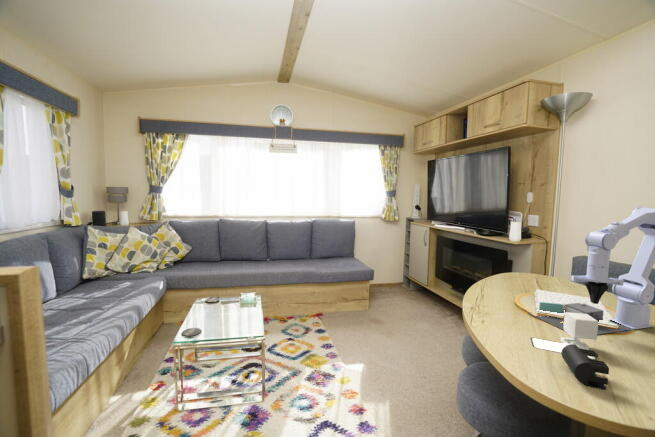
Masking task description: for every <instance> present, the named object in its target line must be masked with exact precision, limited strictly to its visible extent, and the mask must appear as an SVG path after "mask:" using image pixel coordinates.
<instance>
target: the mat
mask: <svg viewBox="0 0 655 437" xmlns="http://www.w3.org/2000/svg"><path fill="white" fill-rule="evenodd" d="M530 313H531V312H527V314H528V315H530V316H532V317H535V319H537V320H541V321H543V322H545V323H547V324H549V325H551V326H553V327H555V328H557V329H559V330H562V331H564V329H563V326H564V324H563V323H560V322H562V321H563V322H564V319H561V318H557V317H551V316H549V317H547V316H541V317H540V316H534V315H532V314H530ZM619 325H620V324H619ZM625 330H630V331H632V329H631V328H628V327H626V326H623V325H620V326H619V327H618V328H617V329H610V328H607V327H602V326H598V332H597V336H600V335H607V334H613V333H612V332H616V333H620V332H619V331H623V332H626V331H625ZM564 332H565V331H564Z"/></svg>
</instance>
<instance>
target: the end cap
mask: <svg viewBox="0 0 655 437" xmlns="http://www.w3.org/2000/svg"><path fill="white" fill-rule="evenodd" d="M560 354H561V357H562V359H563V360H564V362H565V364H566V365H567V367H568V369H570V371H571V373H572V374H573V376H574V378H576V380H577V381H578V382H580V384H582V386H585V387H588V388H593V389H598V390H603V391H606V390H607V385H608V382H609V379H608V377H607V378H606V377H602V376H598V375H597V374H596V373H598V374H604V375H610V374H609V373H610V368H609V366H608V364H606V362H604V361H603V360H598V359H597V360H594V359H591V358H589V357H588V356H592V357H593V356H594V357H596V358H599V355H598V353H597V352H596V351H595V350H592V349H591V350H586V349H579V348H578V347H577V346H576V345H575V344H570V345H567V346H565V347H564V348H563V349H562V352H561V353H560Z"/></svg>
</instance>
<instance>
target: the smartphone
mask: <svg viewBox="0 0 655 437" xmlns="http://www.w3.org/2000/svg"><path fill="white" fill-rule="evenodd" d="M530 342H531V344H532V347H533V348H535V349H537V350H543V351H547V352H553V353H556V354H557V353H558V354H561V352H562V349H563V348H564V347H565V346H566V345H565V344H563V343H562V342H561V341H560V342H559V341H553V340H548V339H542V338H538V337H530ZM589 350H592V349H591V348H589ZM588 357H589V358H591V359H594V360H598V357H594V356H593V357H592V356H588Z"/></svg>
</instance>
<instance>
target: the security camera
mask: <svg viewBox="0 0 655 437" xmlns="http://www.w3.org/2000/svg"><path fill="white" fill-rule="evenodd" d="M563 329H564V332H565V333H566V334H568V335H569V336H570V337H567V336H565V337H563V336H560V343H563V344H565V345H566V346H567V345H570V344H575V345H576V346H577V347H578V348H579V349H586V350H589V349H590V346H588V345H587V344H586V343H585V342H584V341H582V340H581V339H584V340H585V339H586V340H593V341H596V340H597V339H598V335H597V332H598V321H597V320H596V319H594V318H592V317H591V316H589V315H588V314H582V313H569V312H565V315H564V326H563Z"/></svg>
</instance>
